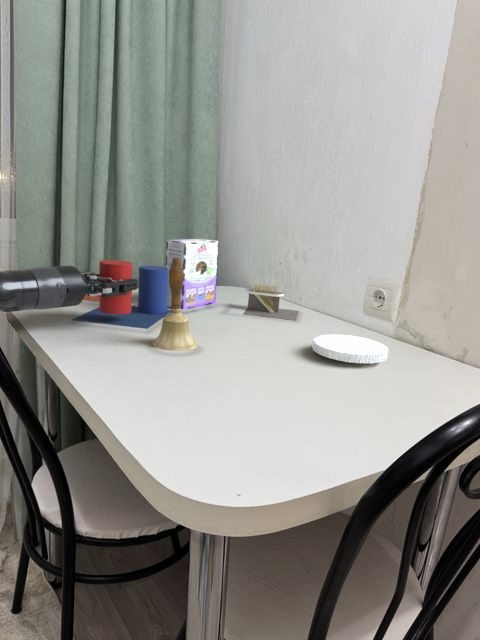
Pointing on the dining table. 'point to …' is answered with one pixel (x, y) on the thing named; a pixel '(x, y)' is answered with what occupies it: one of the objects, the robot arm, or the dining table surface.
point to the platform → (267, 304)
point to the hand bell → (175, 317)
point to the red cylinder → (115, 271)
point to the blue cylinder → (152, 289)
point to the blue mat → (122, 318)
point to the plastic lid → (350, 348)
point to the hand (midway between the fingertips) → (124, 281)
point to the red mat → (91, 298)
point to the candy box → (194, 271)
